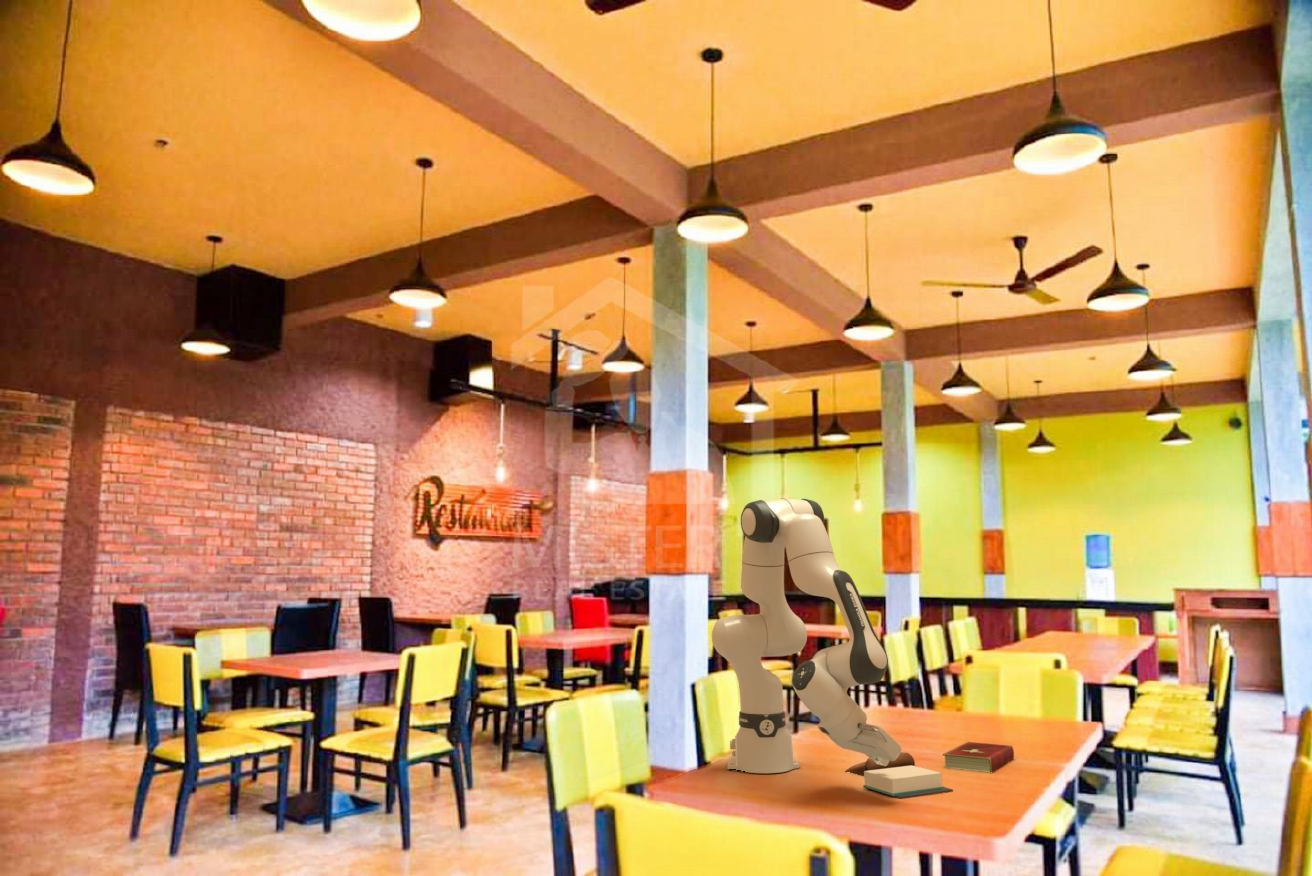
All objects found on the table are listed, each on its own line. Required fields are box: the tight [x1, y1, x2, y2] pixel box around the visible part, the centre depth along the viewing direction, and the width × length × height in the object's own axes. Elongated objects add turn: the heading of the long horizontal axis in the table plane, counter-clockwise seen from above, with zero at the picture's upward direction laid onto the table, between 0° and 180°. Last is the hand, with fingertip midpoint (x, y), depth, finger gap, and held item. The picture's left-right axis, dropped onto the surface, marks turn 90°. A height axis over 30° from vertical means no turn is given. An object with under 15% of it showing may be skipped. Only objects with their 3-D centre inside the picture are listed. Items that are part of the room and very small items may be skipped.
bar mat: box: [863, 784, 954, 800], centre depth 207 cm, size 15×13×1 cm
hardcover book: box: [942, 741, 1015, 774], centre depth 235 cm, size 12×21×4 cm, turn 144°
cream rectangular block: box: [863, 765, 943, 797], centre depth 207 cm, size 4×10×14 cm
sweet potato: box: [844, 751, 916, 777], centre depth 229 cm, size 18×7×7 cm, turn 126°
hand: (883, 763), depth 205 cm, fingers closed
